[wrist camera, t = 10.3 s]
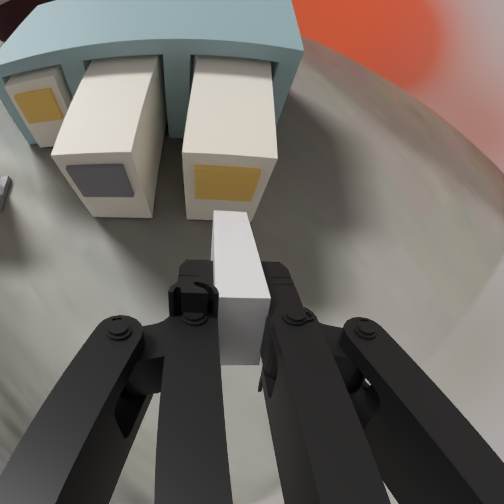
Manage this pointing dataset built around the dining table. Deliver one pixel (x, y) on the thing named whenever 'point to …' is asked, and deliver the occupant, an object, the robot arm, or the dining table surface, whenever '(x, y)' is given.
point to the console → (154, 43)
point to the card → (3, 189)
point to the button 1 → (41, 101)
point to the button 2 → (228, 136)
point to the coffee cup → (15, 14)
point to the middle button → (115, 136)
